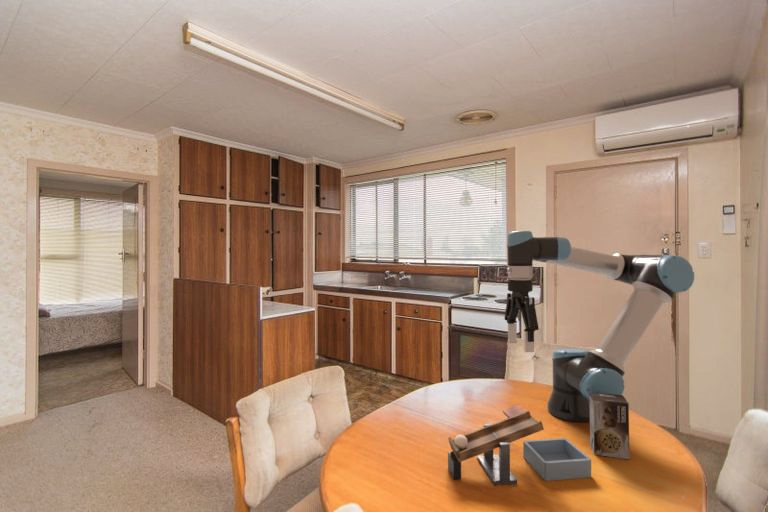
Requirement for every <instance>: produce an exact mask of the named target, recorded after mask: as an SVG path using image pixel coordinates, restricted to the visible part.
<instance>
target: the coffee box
mask: <svg viewBox="0 0 768 512" xmlns="http://www.w3.org/2000/svg"><path fill="white" fill-rule="evenodd" d="M589 395H590V421H589V446H590V448H591V452H592V453H593V455H595V456H603V457H608V458H617V459H621V460H622V459H623V460H624V459H625V460H630V459H631V458H630V456H631V455H630V418H629V416H630V415H629V414H630V413H629V411H630V410H629V408H630V406H629V405H630V404H629V402H628V401H627V399H626V397H624V396H623V394H622V395H614V394H604V393H592V392H590V393H589Z"/></svg>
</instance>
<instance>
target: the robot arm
mask: <svg viewBox="0 0 768 512" xmlns="http://www.w3.org/2000/svg"><path fill="white" fill-rule="evenodd" d="M506 247H507V269H506V271H507V278H509V279H508V280H507V290H508V291H509V293H506V296H507V297H506V307H505V312H504V318H503V319H504V321H506V323H507V343H508V344H517V343H518V342H517V337H518V336H517V333H518V332H517V331H518V330H517V323H518V321H517V318H518V317H517V316H518V314H519V312H520V313H521V316H522V321H523V324H524V330H523V332H524V333H523V334H524V336H523V337H524V353H534V352H535V332H536V331H538V330H540V329H539V322H538V316H537V311H536V305H535V301H536V299H535V297H531V296H530V295H529V293H530V292H533V289H534V288H533V286H534V284H533V283H534V281H533V280H532V279H533V277H534V275H533V268H534V267H533V261H534V262H540V263H541V262H542V263H547V264H551V265H556V266H559V267H560V266H561V267H565V268H570V269H574V270H579V271H582V272H583V271H584V272H589V273H594V274H598V275H603V276H606V277H607V278H608V279H610V280H613V281H618V282H621V283H624V284H627V285H631V286H632V287H633V292H632V293H631V295H630V296H629V297H628V299H627V301H626V303H625V304H624V305H623V307H622V309H621V310H620V312H619V313H618V315H617V317H616V318H615V319H614V321H613V323H612V324H611V326H610V327H609V329H608V330H607V332H606V334H605V335H604V336H603V338H602V340H601V341H600V342H599V343H598V345H597V347H596V348H595V349H592V350H591V349H589V350H588V351H587V350H585V349H579V348H558V349H554V350H553V352H552V359H551V360H552V391H551V393H550V396H549V400H548V402H547V411H548V413H550V414H551V415H552V416H554V417H556V418H559V419H561V420H565V421H569V422H575V423H586V422H590V395H589V393H590V392H592V393H604V394H614V395H623V394H624V391H625V385H624V384H625V380H624V378H623V377H624V375H625V374H626V370H625V366H624V365H625V363H626V362H627V360H628V359H629V356H630V355H631V353H632V352H633V350H634V349H635V347H636V346H637V344H638V342H639V341H640V339H641V338H642V336H643V335H644V333H645V332H646V330H647V329H648V327H649V325H650V324H651V323H652V321H653V319H654V318H655V316H656V314H657V313H658V312H659V310H660V308H661V306H662V305H663V304H665V303H670V302H672V300H673V299H674V298H675V296H676V294H680V293H683V292H686V291H688V290H690V288H691V287H692V286H693V284H694V281H695V272H694V270H693V266H692V264H691V263H690V261H688V260H687V259H686V258H684V257H683V256H679V255H671V254H630V255H629V254H622V253H613V254H612V255H611V254H607V253H602V252H598V251H593V250H589V249H583V248H578V247H575V246H572V245H571V242H570V240H569V239H568V238H567V237H565V236H564V237H563V236H562V237H561V236H550V237H549V236H545V237H542V236H541V237H536V236H533V232H532V231H531V230H516V231H515V230H514V231H510V232H508V235H507V245H506Z"/></svg>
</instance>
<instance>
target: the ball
mask: <svg viewBox="0 0 768 512" xmlns="http://www.w3.org/2000/svg"><path fill="white" fill-rule="evenodd" d="M464 435H465V434H458V435H456V436H455V438H453V439H454V443H455V445H456V447H457V448H458V449H465V448H466V447H467V445H468V441H467V438H466V437H465V436H464Z"/></svg>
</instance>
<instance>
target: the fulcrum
mask: <svg viewBox="0 0 768 512" xmlns="http://www.w3.org/2000/svg"><path fill="white" fill-rule="evenodd" d="M491 424H492V423H483V428H484V427H486V426H489V425H491ZM498 448H499V449H498V454H497V453H496V454H494V449H493V450H490V451H487V452H485V453H483V454H480V455H477V456H476V460H477V461H478V463H479V464H480V466H481V467H482V469H483V470H484V472H485V473H486V474H487V476H488V478H489V480H490V481H491V482H492V484H493V486H502V485H503V486H504V485H517V484H518V479H517V478H516V476H515V475H514V473H513V472H512V471H511V443H508V442H503V443H499V447H498ZM447 469H448V471H449V474H450V475H451V478H452V480H453V481H456V480H462V462H459V461H458V459H457V458H456V456H455V454H454V452H453V451H447Z"/></svg>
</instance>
